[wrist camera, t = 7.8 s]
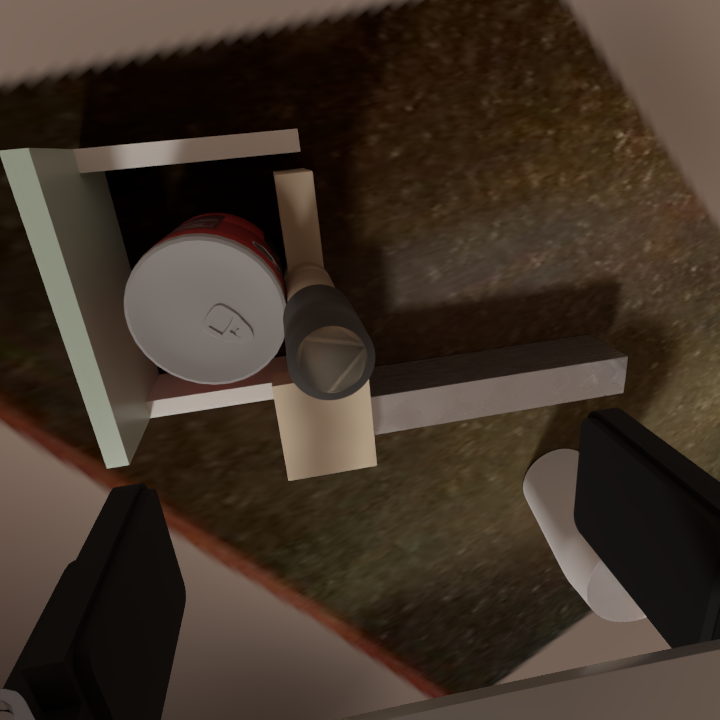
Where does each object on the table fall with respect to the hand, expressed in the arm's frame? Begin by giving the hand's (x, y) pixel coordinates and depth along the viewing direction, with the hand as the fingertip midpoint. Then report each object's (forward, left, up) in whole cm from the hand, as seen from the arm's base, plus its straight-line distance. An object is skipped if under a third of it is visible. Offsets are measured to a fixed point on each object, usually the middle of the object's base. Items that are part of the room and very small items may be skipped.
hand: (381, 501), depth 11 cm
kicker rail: (-12, +10, -27) cm, 31 cm away
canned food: (+5, 0, -27) cm, 28 cm away
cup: (-21, +23, -27) cm, 41 cm away
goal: (+5, 0, -27) cm, 28 cm away
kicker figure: (0, +3, -27) cm, 27 cm away
